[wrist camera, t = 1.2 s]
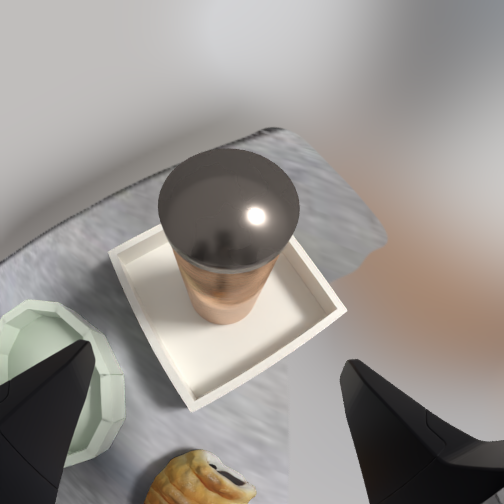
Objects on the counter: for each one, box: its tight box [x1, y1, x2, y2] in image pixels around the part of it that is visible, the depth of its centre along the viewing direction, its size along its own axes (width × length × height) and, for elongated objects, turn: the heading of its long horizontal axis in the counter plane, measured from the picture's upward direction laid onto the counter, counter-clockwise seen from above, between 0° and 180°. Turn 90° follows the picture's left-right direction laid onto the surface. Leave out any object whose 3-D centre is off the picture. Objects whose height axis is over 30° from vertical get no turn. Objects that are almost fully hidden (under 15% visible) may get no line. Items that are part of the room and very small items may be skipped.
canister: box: [158, 149, 300, 325], centre depth 16 cm, size 5×5×12 cm
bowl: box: [0, 299, 126, 468], centre depth 16 cm, size 13×13×3 cm
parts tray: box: [108, 224, 347, 413], centre depth 21 cm, size 13×13×3 cm
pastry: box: [144, 450, 256, 504], centre depth 13 cm, size 9×7×4 cm
